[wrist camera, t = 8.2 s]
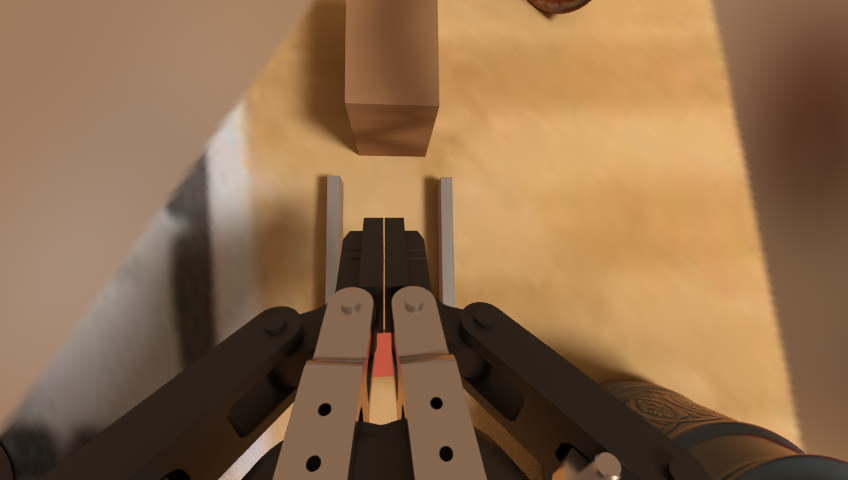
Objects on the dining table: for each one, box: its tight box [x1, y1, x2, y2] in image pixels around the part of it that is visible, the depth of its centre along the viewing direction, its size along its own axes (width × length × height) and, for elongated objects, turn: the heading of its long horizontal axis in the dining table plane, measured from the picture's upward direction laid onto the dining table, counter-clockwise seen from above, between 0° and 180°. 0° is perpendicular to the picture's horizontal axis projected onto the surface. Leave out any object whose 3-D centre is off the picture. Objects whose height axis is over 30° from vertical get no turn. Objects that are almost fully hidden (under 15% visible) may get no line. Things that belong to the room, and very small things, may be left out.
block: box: [345, 0, 439, 157], centre depth 23 cm, size 5×10×8 cm, turn 1°
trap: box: [373, 331, 393, 377], centre depth 24 cm, size 6×3×1 cm, turn 91°
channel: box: [325, 176, 455, 307], centre depth 24 cm, size 9×14×2 cm, turn 1°
